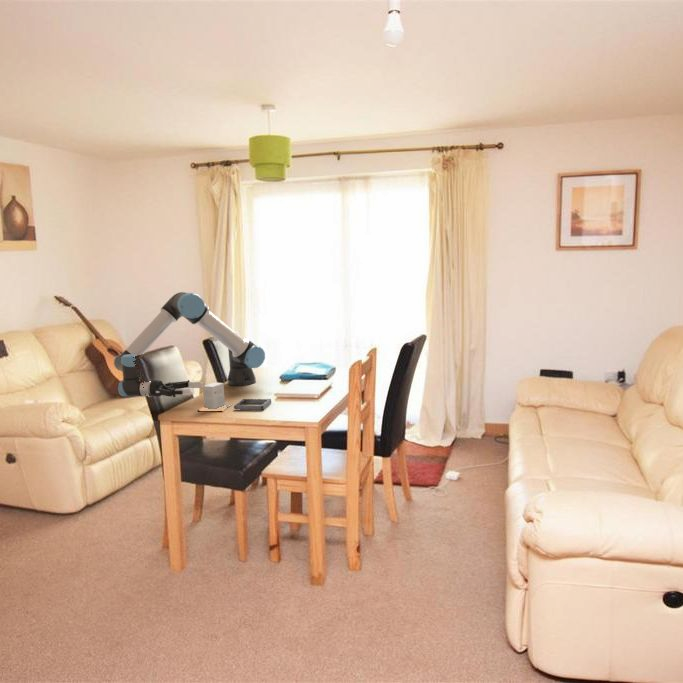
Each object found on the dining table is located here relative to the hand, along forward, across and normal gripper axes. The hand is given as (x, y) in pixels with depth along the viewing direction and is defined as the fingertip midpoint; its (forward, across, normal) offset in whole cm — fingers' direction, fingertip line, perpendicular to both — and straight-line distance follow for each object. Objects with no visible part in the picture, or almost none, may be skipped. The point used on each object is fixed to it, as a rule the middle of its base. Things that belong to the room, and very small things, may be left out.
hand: (196, 388), depth 260 cm
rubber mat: (+8, 0, -9) cm, 12 cm away
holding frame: (+25, -3, -9) cm, 27 cm away
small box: (+8, 0, -9) cm, 12 cm away
